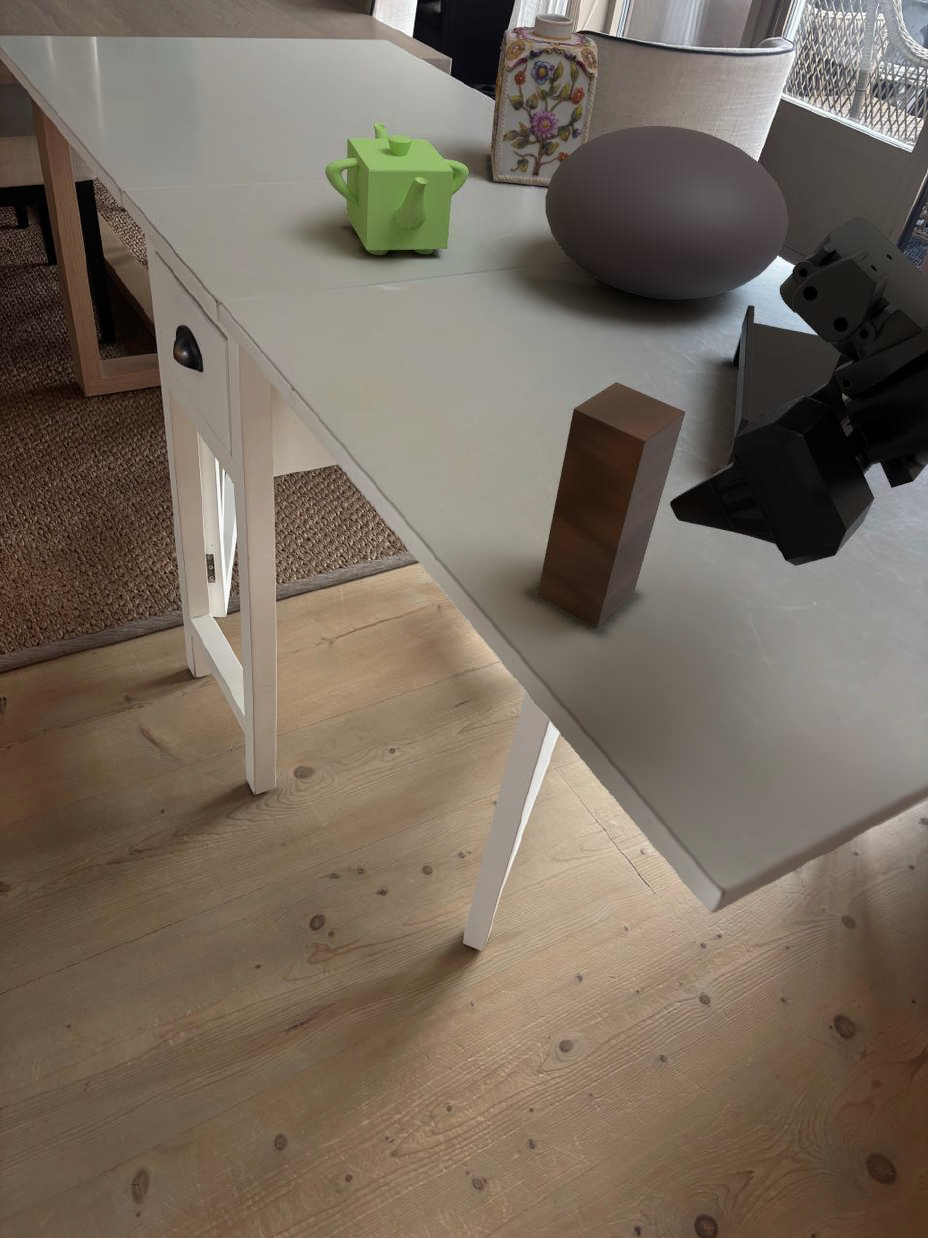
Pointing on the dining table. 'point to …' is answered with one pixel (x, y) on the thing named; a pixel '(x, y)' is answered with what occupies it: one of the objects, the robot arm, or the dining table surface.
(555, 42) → the decorative jar
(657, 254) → the smooth stone
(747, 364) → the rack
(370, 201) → the teapot
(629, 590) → the walnut block
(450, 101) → the dining table surface
